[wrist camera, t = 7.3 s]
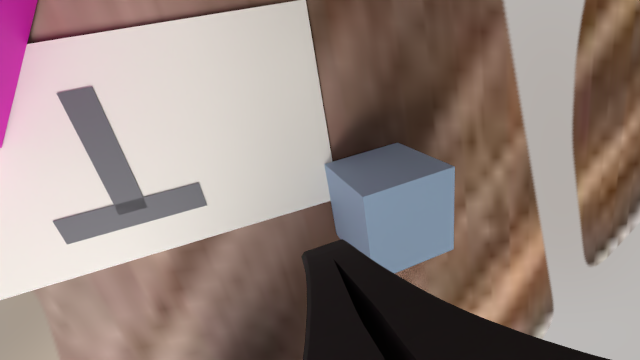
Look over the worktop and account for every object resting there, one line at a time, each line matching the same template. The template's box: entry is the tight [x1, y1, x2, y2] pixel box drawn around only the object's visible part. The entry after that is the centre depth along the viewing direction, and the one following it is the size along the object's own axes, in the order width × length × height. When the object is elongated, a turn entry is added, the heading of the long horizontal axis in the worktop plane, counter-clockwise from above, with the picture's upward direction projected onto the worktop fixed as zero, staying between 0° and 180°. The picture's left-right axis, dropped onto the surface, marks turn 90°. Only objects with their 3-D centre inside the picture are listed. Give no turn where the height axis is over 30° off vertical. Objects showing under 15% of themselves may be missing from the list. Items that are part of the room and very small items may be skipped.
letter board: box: [0, 0, 332, 300], centre depth 15 cm, size 11×22×1 cm, turn 100°
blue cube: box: [324, 143, 455, 273], centre depth 18 cm, size 5×5×5 cm
